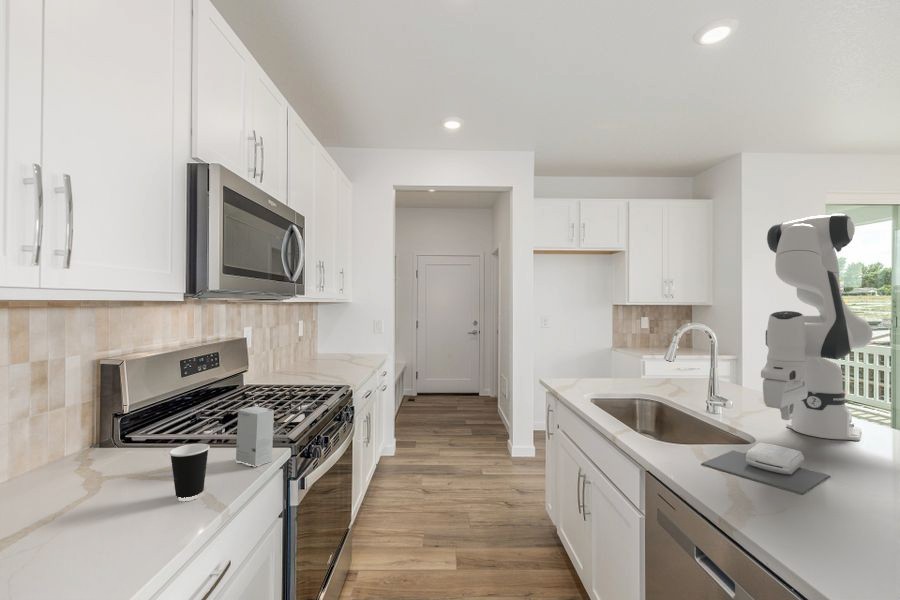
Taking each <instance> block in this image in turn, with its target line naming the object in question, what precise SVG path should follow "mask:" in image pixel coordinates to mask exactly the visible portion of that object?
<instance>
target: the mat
mask: <svg viewBox="0 0 900 600" xmlns="http://www.w3.org/2000/svg"><path fill="white" fill-rule="evenodd" d="M746 454H747V452H746V453H744V452H742V451H741V452H740V451H737V450H732V449H731V450H730V451H728V452H725V453H723V454H720V455H718V456H716V457H713V458H711V459H709V460H708V459H707V460H706V461H703V462H701V466H705V467H708V468H712V469H715V470H718V471H721V472H725V473H728V474H732V475H735V476H738V477H741V478H746V479H748V480H751V481H756V482H759V483H763V484H765V485H768V486H772V487H774V488H779V489H783V490H785V491H789V492H790V493H791V492H792V493H795V494H798V495H802V496H803V495H805V494H806V493H807V491H808V492H810V491H811V490H812V489H814V488H815V487H817V486H818V485H820V484H821V483H823V482H824V481H826V480H827V479H829V478H831V475H830V474H827V473H823V472H819V471H816V470H811V469H808V468H807V469H806V468H804V467H801V466H800V467H799V468H798V469H797V470H795V471H794V472H793V473H792V474H781V473H776V472H771V471H767V470H764V469H760V468H757V467H754V466H752V465H750V464H748V463H747V462H746ZM810 489H811V490H810Z"/></svg>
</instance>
